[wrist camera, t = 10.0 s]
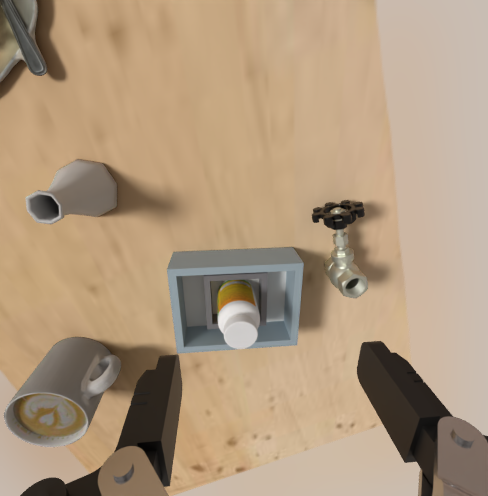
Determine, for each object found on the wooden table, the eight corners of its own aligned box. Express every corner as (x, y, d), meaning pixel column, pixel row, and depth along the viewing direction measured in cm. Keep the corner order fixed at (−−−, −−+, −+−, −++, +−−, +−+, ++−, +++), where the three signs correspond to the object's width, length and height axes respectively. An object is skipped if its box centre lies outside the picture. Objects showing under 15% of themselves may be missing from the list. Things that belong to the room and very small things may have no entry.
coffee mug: (66, 391, 47) (29, 454, 38) (36, 345, 43) (-14, 403, 34) (144, 372, 47) (126, 430, 38) (121, 325, 43) (95, 377, 34)
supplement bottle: (210, 285, 41) (209, 328, 32) (244, 270, 40) (252, 309, 31) (227, 313, 43) (230, 360, 34) (259, 298, 42) (271, 343, 33)
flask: (126, 211, 37) (96, 237, 28) (71, 220, 37) (22, 250, 27) (108, 154, 34) (68, 161, 25) (48, 163, 34) (-15, 174, 25)
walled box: (173, 252, 39) (167, 269, 34) (292, 247, 41) (303, 263, 36) (181, 328, 44) (177, 353, 39) (288, 321, 46) (297, 345, 41)
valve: (357, 271, 43) (350, 196, 39) (380, 293, 37) (375, 208, 33) (316, 282, 44) (304, 208, 39) (332, 306, 37) (320, 222, 33)
